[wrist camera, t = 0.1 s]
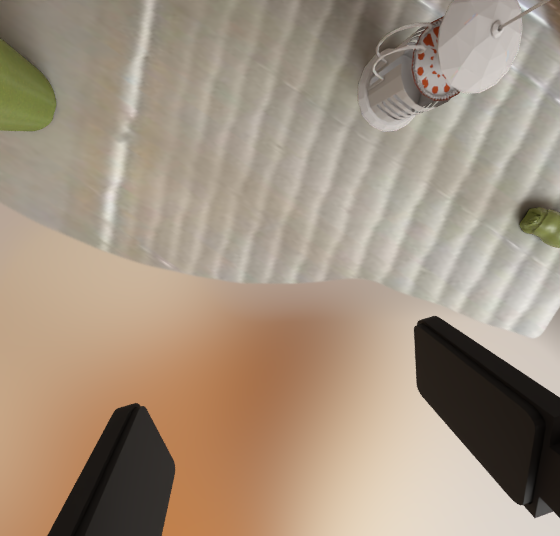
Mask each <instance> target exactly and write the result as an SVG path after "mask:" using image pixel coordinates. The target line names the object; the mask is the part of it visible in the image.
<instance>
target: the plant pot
mask: <svg viewBox="0 0 560 536" xmlns="http://www.w3.org/2000/svg"><path fill="white" fill-rule="evenodd" d="M55 108H56V100H55V95H54V92H53V89H52V87H51V85H50V83H49V82H48V80H47V79H46V78H45V76H44V75H43V74H42V73H41V72H40V71H39V70H38V69H37V68H36V67H35V66H33V65H32V64H31V63H30V62H29V61H27V60H26V59H25V58H24V57H22V56H21V55H20V54H19V53H18V52H16V51H15V50H14V49H13V48H12V47H10V46H9V45H8V44H7V43H6V42H4V41H3V40H2V39H1V38H0V130H4V131H36V130H40V129H42V128H44V127H46V126H47V125H48V124H49V123H50V122H51V121H52V119H53V115H54V111H55Z"/></svg>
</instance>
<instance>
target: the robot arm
mask: <svg viewBox="0 0 560 536" xmlns="http://www.w3.org/2000/svg"><path fill="white" fill-rule="evenodd" d="M414 339H415V359H416V379H417V387H418V390H419V392H420V394H421V395H422V397H423V398H424V399H425V400H426V401H427V402H428V404H429V405H430V406H431V407H432V408H433V409H434V410H435V412H436V413H437V414H438V415H439V416H440V417H441V418H442V420H443V421H444V422H445V423H446V424H447V425H448V427H449V428H450V429H451V430H452V431H453V432H454V433H455V435H456V436H457V437H458V438H459V439H460V440H461V442H462V443H463V444H464V445H465V446H466V447H467V448H468V449H469V451H470V452H471V453H472V454H473V455H474V456H475V458H476V459H477V460H478V461H479V462H480V463H481V464H482V466H483V467H484V468H485V469H486V470H487V471H488V473H489V474H490V475H491V476H492V477H493V478H494V479H495V481H496V482H497V483H498V484H499V485H500V486H501V488H502V489H503V490H504V491H505V492H506V493H507V494H508V496H509V497H510V498H511V499H512V500H513V501H514V502H516V503H517V504H519V505H524V506H525V508H526V509H527V510H528V511H529V512H530V513H531V514H532V515H533V517H534V518H536V517H539V516H542V515H545V514H547V513H550V512H553V511H554V512H555V513H556V514H557V516H558V517H559V518H560V397H558V396H556V395H555V394H554V393H552V392H550V391H549V390H547V389H546V388H544V387H543V386H541V385H540V384H538V383H537V382H535V381H534V380H532V379H531V378H529V377H528V376H526V375H525V374H523V373H522V372H520V371H519V370H517V369H516V368H514V367H513V366H511V365H510V364H508V363H507V362H505V361H504V360H502V359H501V358H499V357H497V356H496V355H495V354H493V353H492V352H490V351H489V350H487V349H486V348H484V347H483V346H481V345H480V344H478V343H477V342H475V341H474V340H472V339H471V338H469V337H468V336H466V335H465V334H463V333H462V332H460V331H459V330H457V329H456V328H454V327H452V326H451V325H450V324H448V323H447V322H445V321H444V320H442V319H441V318H439V317H437V316H432V317H429V318H426V319H422V320H420V321H418V323H417V326H415V327H414ZM174 475H175V464H174V461H173V458H172V457H171V455H170V453H169V451H168V449H167V447H166V445H165V443H164V442H163V439H162V438H161V436H160V434H159V432H158V430H157V428H156V426H155V424H154V423H153V420H152V419H151V417H150V415H149V413H148V411H147V409H146V408H145V407H144V406H140V405H139V404H138V403H135V404H131V405H127V406H125V407H121V408H118V409H116V410H115V411H114V413H113V415H112V417H111V418H110V420H109V422H108V424H107V426H106V428H105V430H104V431H103V434H102V435H101V437H100V439H99V441H98V442H97V444H96V446H95V448H94V450H93V452H92V454H91V455H90V457H89V459H88V461H87V463H86V465H85V467H84V469H83V470H82V472H81V474H80V476H79V478H78V480H77V482H76V483H75V485H74V487H73V489H72V491H71V493H70V495H69V496H68V498H67V500H66V502H65V504H64V506H63V508H62V510H61V511H60V513H59V515H58V517H57V519H56V521H55V523H54V524H53V526H52V528H51V530H50V532H49V534H48V536H162V531H163V527H164V522H165V517H166V512H167V508H168V503H169V498H170V494H171V489H172V484H173V480H174Z"/></svg>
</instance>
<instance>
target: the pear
mask: <svg viewBox="0 0 560 536" xmlns="http://www.w3.org/2000/svg"><path fill="white" fill-rule="evenodd" d="M519 225H520V228H521V229H522V230H523V232H525V233H529V234H534V235H536V236H538V237H540V238H541V240H542V241H543V242H544V243H546V244H548V245H550V246H553V247H556V248H560V213H559V212H556V211H554V210H551V209H548V210H547V209H544V208H541V207H537V208H531V209H529V211H528V212H527V214H526V216H525V217H524V218H523V220H522V221H521V222H520V224H519Z"/></svg>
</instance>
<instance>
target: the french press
mask: <svg viewBox="0 0 560 536" xmlns="http://www.w3.org/2000/svg"><path fill="white" fill-rule="evenodd" d="M548 1H550V0H543V1H541V2H540V3H538V4H536V5H535V6H533V7H531V8H530V9H528V10H526V11H525V12H523V13H521V7H520V5H519V3H518V1H517V0H453V1H452V2H451V3H450V4H449V6H448V9H447V11H446V13H445V16H443V17H441V18H439V19H437V20H435V21H433V22H431V23H429V22H428V23H413V24H410V25H406V26H403V27H400V28H398V29H396V30H393V31H391V32H389V33H388V34H386V35H385V36H384V37H383V38H382V39H381V40H380V41H379V43H378V45H377V47H376V55H374V57H373V58H372V59H371V60H370V61H369V63H368V64H367V65H366V66H365V67H364V70H363V72H362V75H361V78H360V81H359V83H358V103H359V106H360V109H361V112H362V115H363V117H364V118H365V119H366V120H367V122H368V123H369V124H370V125H371V126H372V127H374V128H376V129H379V130H381V131H396V130H398V129H400V128H402V127H404V126H406V125H407V124H408V123H409V122H410V121H411V120H412V119H413V118H414V117H415V115H417V114H420V112H421V113H422V111H423V112H424V111H428V110H430V109H433V108H436V107H438V106H440V105H442V104H444V103H446V102H448V101H449V100H450V98H452V97H454V96H456V95H457V94H459V93H460V91H461V92H463V93H481V92H483V91H484V90H486V89H488V88H490V87H492V86H494V85H496V84H497V83H498V81H499V80H500V79H501V78H502V77H503V76H504V75H505V74H506V73H507V72H508V71H509V69H510V67H511V65H512V63H513V61H514V59H515V57H516V55H517V53H518V51H519V46H520V41H521V35H522V16H524V15H526V14H527V13H529V12H531V11H532V10H534V9H536V8H538V7H539V6H541V5H543V4H545V3H546V2H548ZM412 27H422V28H420V29H418V30H417V31H416V32H415V33H416V34H415V33H414V34H412V35H411V36H410V37H409V38H408V39H406V40H405V41H404V42H403V43H402V44H400V45H399V46H398V47H397V48H396V49H390V48H388V49H386V50H384V51H382V52H380V53H379V52H378V51H379V46H380V45H381V44H382V43H383V41H384V40H385V39H386V38H387V37H388V36H390V35H392V34H393V33H396V32H398V31H401V30H403V29H407V28H412ZM423 29H425V30H424V31H421V32H419V33H417V32H418V31H420V30H423ZM421 33H422V34H421ZM419 34H421V35H420V36H417V37H414V38H412V37H413V36H416V35H419ZM411 38H412V39H411ZM412 40H418V41H417V43H415V42H409V41H412ZM408 42H409V43H408ZM407 45H409V46H407ZM413 49H414V51H413ZM436 101H439V102H438V103H437V104H436V105H435V106H434V107H432V106H433V105H434V103H435V102H436ZM430 103H432V104H431V105H430V106H429V107H428V108H426V107H427V106H428V105H429V104H430ZM425 105H426V106H425ZM423 106H425V107H424V108H423ZM418 112H419V113H418Z"/></svg>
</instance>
